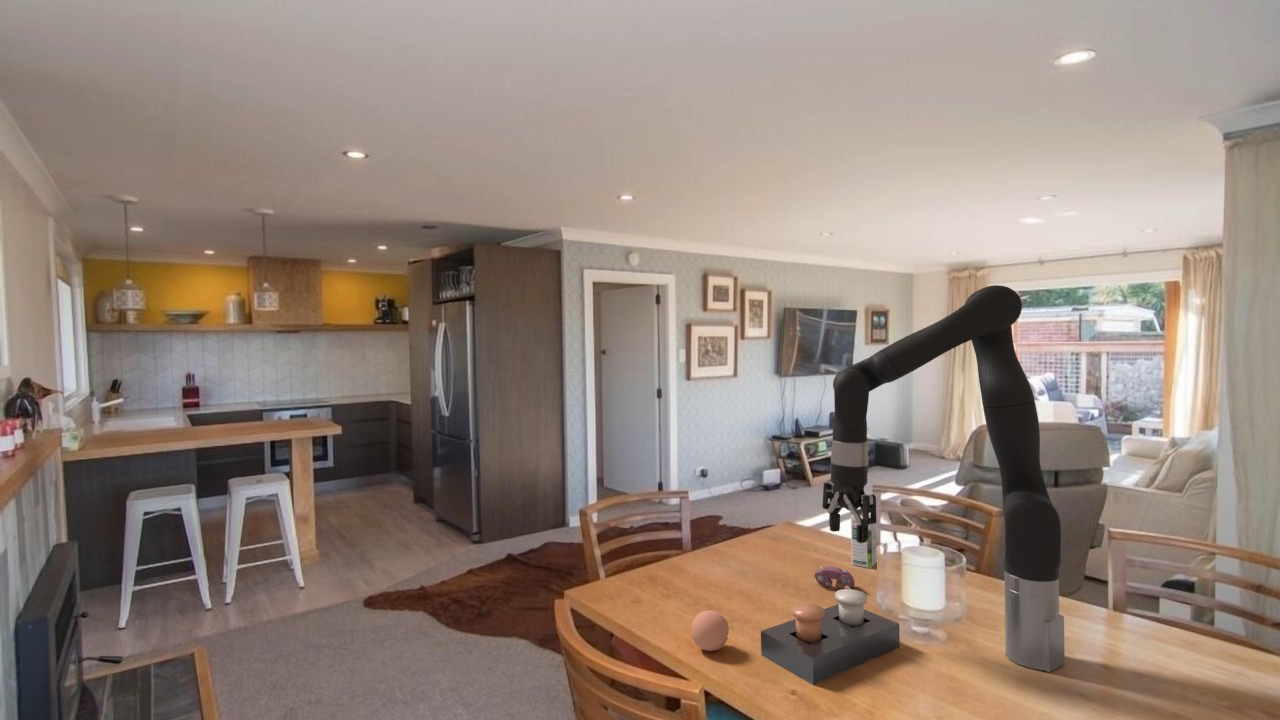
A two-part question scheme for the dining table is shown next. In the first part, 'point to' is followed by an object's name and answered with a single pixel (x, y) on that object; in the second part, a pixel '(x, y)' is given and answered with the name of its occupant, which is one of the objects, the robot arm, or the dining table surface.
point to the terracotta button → (808, 621)
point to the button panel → (830, 645)
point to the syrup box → (863, 546)
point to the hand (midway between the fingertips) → (847, 536)
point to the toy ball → (710, 630)
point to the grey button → (851, 606)
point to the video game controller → (834, 577)
